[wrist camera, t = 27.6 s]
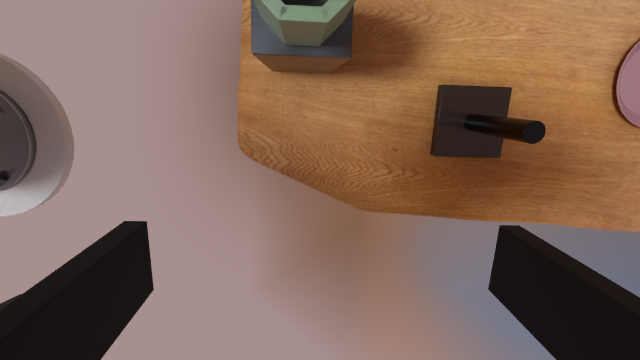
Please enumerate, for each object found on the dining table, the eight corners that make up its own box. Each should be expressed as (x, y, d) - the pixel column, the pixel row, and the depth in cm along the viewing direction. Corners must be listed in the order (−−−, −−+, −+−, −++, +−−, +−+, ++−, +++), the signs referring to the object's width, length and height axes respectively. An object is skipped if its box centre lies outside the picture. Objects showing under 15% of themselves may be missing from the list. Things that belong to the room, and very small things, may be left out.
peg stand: (430, 154, 50) (481, 177, 36) (438, 85, 47) (496, 80, 33) (494, 156, 50) (569, 179, 36) (505, 87, 48) (591, 84, 34)
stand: (272, 71, 45) (251, 53, 26) (272, 7, 43) (249, -62, 24) (330, 73, 46) (350, 57, 27) (332, 10, 44) (357, -55, 25)
